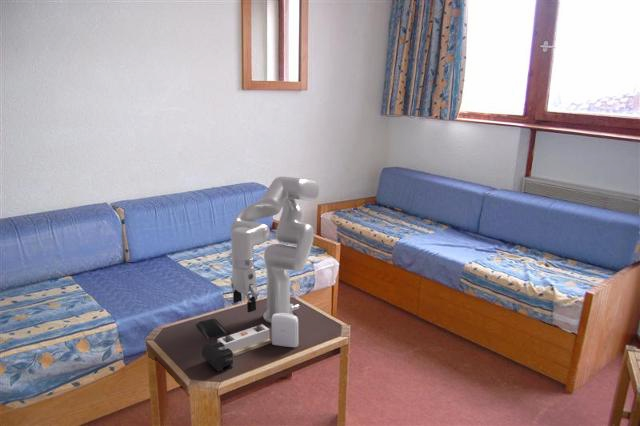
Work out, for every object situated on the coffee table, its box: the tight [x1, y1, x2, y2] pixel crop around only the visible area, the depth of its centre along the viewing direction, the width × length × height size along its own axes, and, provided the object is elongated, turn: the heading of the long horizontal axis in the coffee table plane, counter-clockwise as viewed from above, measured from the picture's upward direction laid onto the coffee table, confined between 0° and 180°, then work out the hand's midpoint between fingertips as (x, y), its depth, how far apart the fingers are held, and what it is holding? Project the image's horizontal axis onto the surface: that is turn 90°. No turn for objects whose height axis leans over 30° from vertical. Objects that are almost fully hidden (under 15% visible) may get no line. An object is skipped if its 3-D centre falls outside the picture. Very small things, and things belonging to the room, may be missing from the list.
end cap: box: [200, 342, 234, 373], centre depth 171 cm, size 10×7×7 cm
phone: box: [197, 318, 228, 340], centre depth 197 cm, size 8×1×15 cm
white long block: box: [217, 324, 271, 352], centre depth 184 cm, size 19×5×4 cm, turn 130°
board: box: [226, 324, 272, 360], centre depth 184 cm, size 19×7×6 cm, turn 129°
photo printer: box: [271, 313, 299, 348], centre depth 186 cm, size 10×4×12 cm, turn 76°
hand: (244, 306), depth 181 cm, fingers open, 9 cm apart
